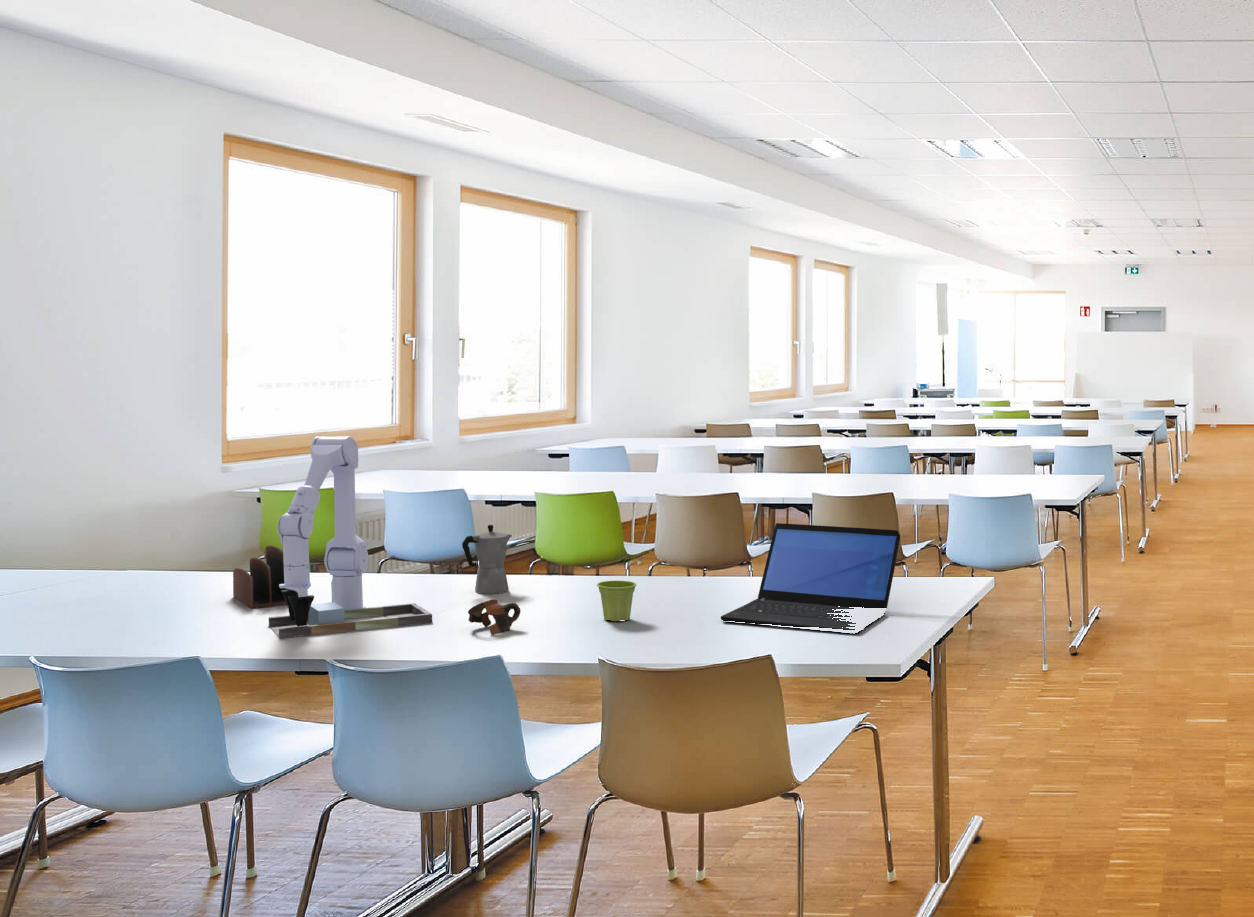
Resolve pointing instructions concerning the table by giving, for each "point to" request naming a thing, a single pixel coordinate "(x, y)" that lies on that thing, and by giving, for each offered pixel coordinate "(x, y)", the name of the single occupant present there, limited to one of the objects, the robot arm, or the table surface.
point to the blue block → (326, 613)
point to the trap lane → (394, 614)
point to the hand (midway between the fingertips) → (298, 622)
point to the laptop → (822, 575)
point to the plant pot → (616, 599)
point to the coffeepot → (489, 560)
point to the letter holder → (261, 581)
